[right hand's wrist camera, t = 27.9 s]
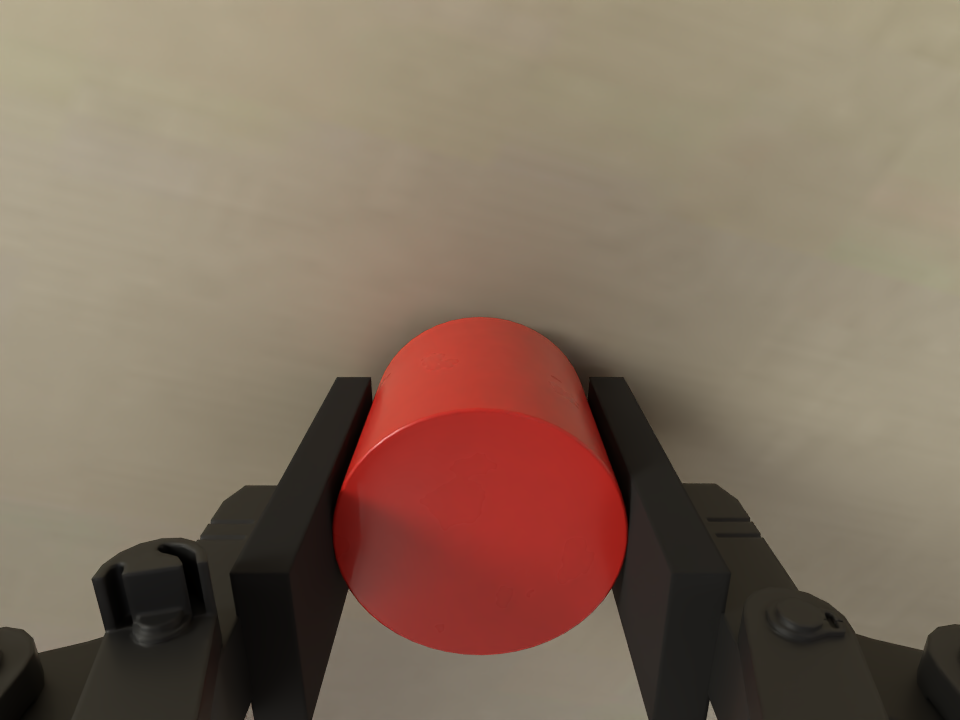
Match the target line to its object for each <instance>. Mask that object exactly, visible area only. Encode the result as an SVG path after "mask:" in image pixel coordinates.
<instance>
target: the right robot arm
mask: <svg viewBox="0 0 960 720" xmlns="http://www.w3.org/2000/svg"><path fill="white" fill-rule="evenodd" d="M372 403H373V401H372V386H371V377H337V378H336V380H335V382H334V384H333V386H332V387H331V389H330V391H329V393H328V395H327V396H326V398H325V400H324V402H323V404H322V405H321V407H320V409H319V411H318V413H317V415H316V416H315V418H314V420H313V422H312V424H311V425H310V427H309V429H308V431H307V433H306V435H305V436H304V438H303V440H302V442H301V444H300V445H299V447H298V449H297V451H296V453H295V455H294V456H293V458H292V460H291V462H290V464H289V465H288V467H287V469H286V471H285V473H284V475H283V476H282V478H281V480H280V482H279V484H278V485H277V486H244V487H243V488H241V489H240V490H239V491H237V492H236V493H235V494H233V495H232V496H230V497H229V498H228V499H226V500H225V501H223V503H222V504H221V506H220V507H219V509H218V510H217V512H216V513H215V515H214V516H213V518H212V519H211V524H208V525H207V527H206V528H205V530H204V531H203V533H202V534H201V538H200V540H197V542H195V541H192V540H188V539H184V538H161V539H157V540H153V541H149V542H145V543H141V544H138V545H136V546H134V547H131V548H129V549H127V550H125V551H122V552H120V553H118V554H117V555H116V556H114V557H113V558H111V559H110V560H109V561H107V562H106V563H105V564H103V565H102V566H101V567H100V569H99V570H98V571H97V573H96V574H95V575H94V577H93V578H92V582H93V586H94V590H95V594H96V597H97V601H98V605H99V609H100V613H101V616H102V620H103V624H104V628H105V631H106V633H105V635H104V637H101V638H98V639H95V640H91V641H88V642H84V643H80V644H75V645H71V646H67V647H62V648H58V649H54V650H49V651H45V652H41V653H38V652H37V649H36V646H35V643H34V639H33V638H32V637H31V636H30V635H29V634H28V633H27V632H25V631H24V630H22V629H16V628H10V627H2V628H0V720H244V719H245V716H246V713H247V711H248V708H249V706H250V703H251V704H252V710H253V715H254V720H312V717H313V713H314V710H315V706H316V703H317V699H318V696H319V692H320V688H321V685H322V681H323V678H324V674H325V671H326V667H327V663H328V660H329V656H330V653H331V649H332V645H333V642H334V638H335V635H336V631H337V628H338V624H339V620H340V617H341V613H342V610H343V606H344V602H345V599H346V595H347V592H348V586H347V584H346V582H345V580H344V578H343V576H342V575H341V572H340V569H339V566H338V563H337V560H336V557H335V552H334V546H333V536H332V522H333V514H334V508H335V505H336V501H337V498H338V494H339V491H340V489H341V486H342V483H343V481H344V478H345V475H346V473H347V470H348V467H349V465H350V462H351V459H352V456H353V454H354V451H355V448H356V446H357V443H358V440H359V438H360V435H361V432H362V429H363V427H364V424H365V421H366V419H367V416H368V413H369V411H370V408H371V405H372ZM588 404H589V406H590V409H591V412H592V415H593V417H594V420H595V423H596V425H597V428H598V431H599V433H600V436H601V439H602V442H603V444H604V447H605V450H606V452H607V455H608V458H609V461H610V463H611V466H612V469H613V471H614V474H615V477H616V480H617V482H618V485H619V488H620V490H621V493H622V497H623V500H624V503H625V506H626V511H627V518H628V543H627V549H626V555H625V559H624V562H623V565H622V568H621V571H620V573H619V575H618V577H617V579H616V581H615V583H614V585H613V587H612V590H613V594H614V597H615V601H616V604H617V608H618V612H619V615H620V619H621V622H622V626H623V630H624V633H625V637H626V640H627V644H628V647H629V651H630V655H631V658H632V662H633V665H634V669H635V673H636V676H637V680H638V683H639V687H640V690H641V694H642V698H643V701H644V705H645V708H646V712H647V716H648V719H649V720H706V718H707V712H708V706H709V701H710V702H711V704H712V707H713V709H714V712H715V714H716V717H717V719H718V720H960V625H957V624H954V625H948V626H942V627H938V628H936V629H935V630H934V631H933V632H932V633H931V634H930V635H928V638H927V641H926V644H925V648H924V651H923V650H918V649H914V648H910V647H905V646H901V645H897V644H892V643H888V642H884V641H879V640H875V639H871V638H868V637H865V636H861V635H858V634H855V631H854V630H853V628H852V627H851V625H850V624H849V622H848V621H847V619H846V618H845V616H843V615H842V614H841V613H840V612H839V611H837V610H836V609H835V608H834V607H832V606H831V605H830V604H829V603H827V602H825V601H823V600H821V599H819V598H817V597H815V596H813V595H811V594H809V593H806V592H802V591H799V590H798V589H797V587H796V586H795V584H794V583H793V581H792V580H791V578H790V577H789V575H788V574H787V572H786V571H785V569H784V568H783V566H782V565H781V564H780V562H779V561H778V559H777V558H776V556H775V555H774V553H773V552H772V550H771V549H770V547H769V546H768V544H767V543H766V541H765V540H764V538H761V536H760V532H759V531H758V529H757V528H756V526H755V525H754V523H753V522H750V517H749V516H748V514H747V513H746V511H745V510H744V509H743V507H742V506H741V504H740V503H739V501H738V500H737V499H736V498H735V497H733V496H732V495H730V494H729V493H728V492H726V491H725V490H723V489H722V488H721V487H719V486H718V485H717V484H682V483H681V481H680V479H679V477H678V476H677V474H676V472H675V470H674V468H673V466H672V465H671V463H670V461H669V459H668V457H667V456H666V454H665V452H664V450H663V448H662V446H661V445H660V443H659V441H658V439H657V437H656V436H655V434H654V432H653V430H652V428H651V426H650V425H649V423H648V421H647V419H646V417H645V416H644V414H643V412H642V410H641V408H640V406H639V405H638V403H637V401H636V399H635V397H634V396H633V394H632V392H631V390H630V388H629V386H628V385H627V383H626V381H625V379H624V377H589V393H588Z"/></svg>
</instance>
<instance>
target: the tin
mask: <svg viewBox="0 0 960 720" xmlns="http://www.w3.org/2000/svg"><path fill="white" fill-rule="evenodd" d="M332 536H333V546H334V552H335V557H336V560H337V563H338V566H339V569H340V572H341V575H342V576H343V578H344V580H345V582H346V584H347V586H348V588H349V589H350V591H351V592H352V594H353V595H354V596H355V598H356V599H357V600H358V602H359V603H360V604H361V605H362V606H363V607H364V608H365V609H366V610H367V611H368V612H369V614H371V615H372V616H373V617H374V618H375V619H377V620H378V621H379V622H380V623H382V624H383V625H384V626H386V627H387V628H389V629H390V630H392V631H394V632H395V633H397V634H399V635H401V636H403V637H405V638H407V639H409V640H411V641H413V642H416V643H418V644H421V645H424V646H426V647H429V648H433V649H437V650H441V651H445V652H452V653H458V654H469V655H491V654H503V653H509V652H515V651H520V650H523V649H527V648H531V647H534V646H537V645H540V644H542V643H545V642H548V641H550V640H552V639H554V638H556V637H558V636H560V635H562V634H564V633H566V632H567V631H569V630H570V629H572V628H573V627H575V626H576V625H578V624H579V623H580V622H582V621H583V620H584V619H585V618H586V617H587V616H589V615H590V614H591V613H592V612H593V611H594V610H595V609H596V608H597V607H598V606H599V604H600V603H601V602H602V601H603V600H604V599H605V597H606V596H607V594H608V593H609V591H610V590H611V589H612V587H613V585H614V583H615V581H616V579H617V577H618V575H619V573H620V571H621V568H622V565H623V562H624V559H625V555H626V549H627V543H628V518H627V511H626V506H625V503H624V500H623V497H622V493H621V490H620V488H619V485H618V482H617V480H616V477H615V474H614V471H613V469H612V466H611V463H610V461H609V458H608V455H607V452H606V450H605V447H604V444H603V442H602V439H601V436H600V433H599V431H598V428H597V425H596V423H595V420H594V417H593V415H592V412H591V409H590V406H589V404H588V401H587V398H586V396H585V393H584V390H583V387H582V385H581V382H580V379H579V377H578V375H577V373H576V371H575V369H574V367H573V366H572V364H571V363H570V362H569V360H568V359H567V357H566V356H565V355H564V354H563V353H562V352H561V350H560V349H559V348H558V347H557V346H555V345H554V344H553V343H552V342H551V341H550V340H548V339H547V338H546V337H544V336H542V335H541V334H539V333H538V332H536V331H534V330H532V329H530V328H528V327H526V326H524V325H521V324H518V323H515V322H512V321H509V320H503V319H498V318H488V317H473V318H463V319H457V320H452V321H449V322H446V323H443V324H440V325H437V326H435V327H433V328H431V329H428V330H426V331H424V332H423V333H421V334H420V335H418V336H417V337H415V338H414V339H412V340H411V341H410V342H409V343H408V344H406V345H405V346H404V347H403V348H402V349H401V350H400V351H399V352H398V353H397V355H396V356H395V357H394V358H393V359H392V361H391V362H390V364H389V365H388V367H387V369H386V370H385V372H384V375H383V377H382V379H381V381H380V384H379V386H378V389H377V392H376V394H375V397H374V400H373V403H372V405H371V408H370V411H369V413H368V416H367V419H366V421H365V424H364V427H363V429H362V432H361V435H360V438H359V440H358V443H357V446H356V448H355V451H354V454H353V456H352V459H351V462H350V465H349V467H348V470H347V473H346V475H345V478H344V481H343V483H342V486H341V489H340V491H339V494H338V498H337V501H336V505H335V508H334V514H333V522H332Z"/></svg>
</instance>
